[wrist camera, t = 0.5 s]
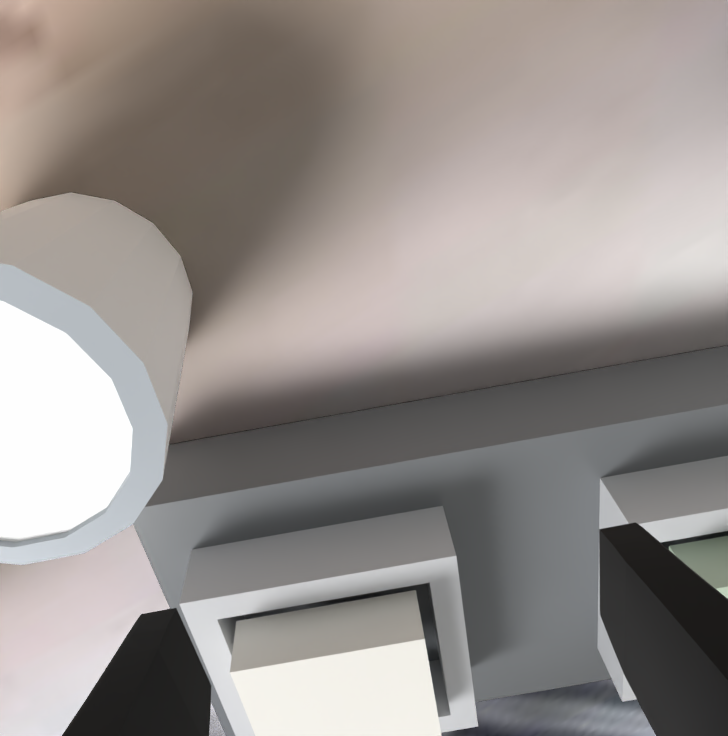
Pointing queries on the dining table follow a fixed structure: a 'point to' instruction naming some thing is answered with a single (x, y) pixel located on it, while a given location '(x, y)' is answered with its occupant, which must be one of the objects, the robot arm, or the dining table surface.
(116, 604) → the dining table surface
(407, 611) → the pale key
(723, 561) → the sage key
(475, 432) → the key panel
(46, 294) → the white cylinder
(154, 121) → the dining table surface
